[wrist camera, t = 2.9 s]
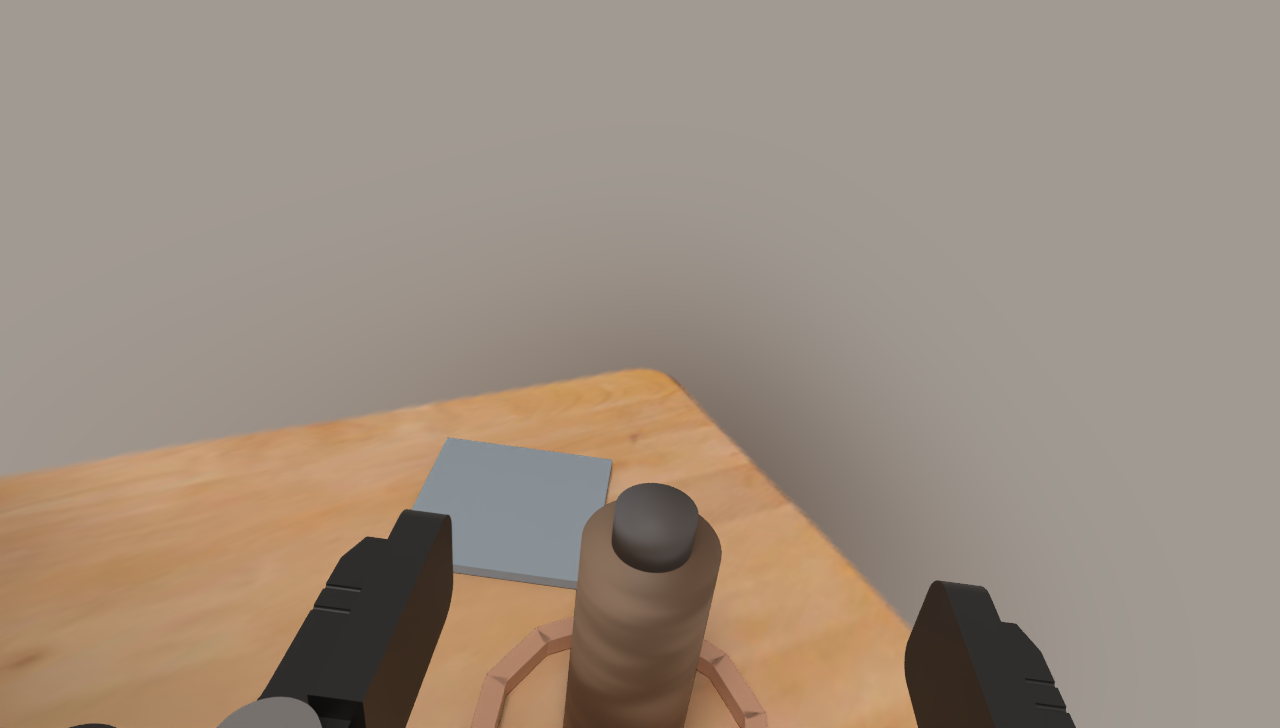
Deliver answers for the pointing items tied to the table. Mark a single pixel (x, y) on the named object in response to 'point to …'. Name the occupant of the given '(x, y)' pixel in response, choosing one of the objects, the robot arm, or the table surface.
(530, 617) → the table surface
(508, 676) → the pinkish tan segmented ring
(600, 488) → the mat
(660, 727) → the pepper mill
